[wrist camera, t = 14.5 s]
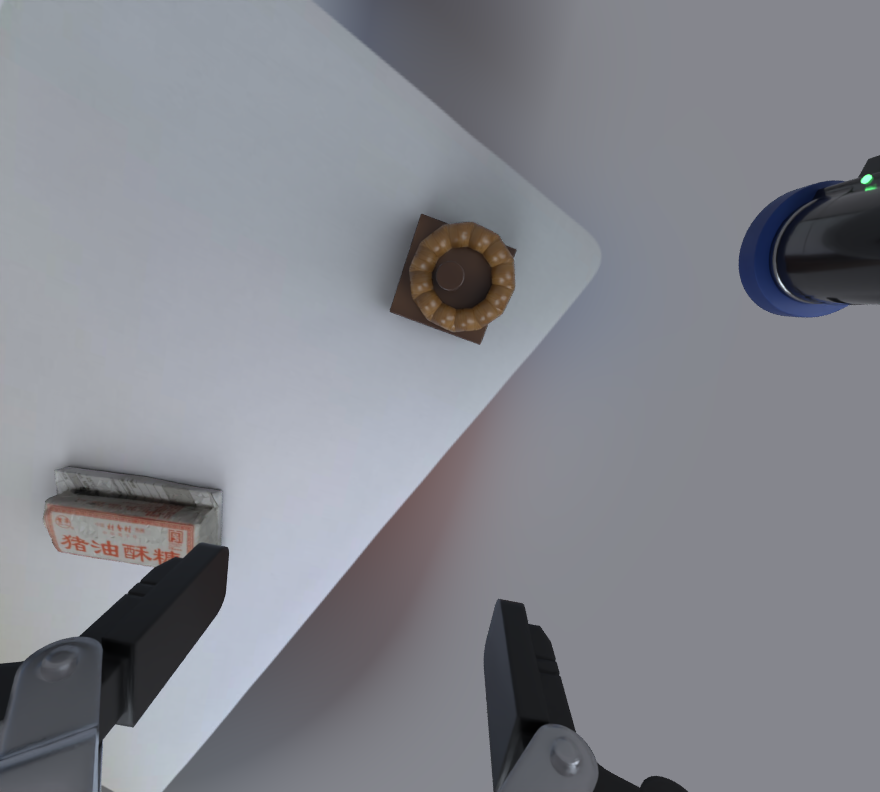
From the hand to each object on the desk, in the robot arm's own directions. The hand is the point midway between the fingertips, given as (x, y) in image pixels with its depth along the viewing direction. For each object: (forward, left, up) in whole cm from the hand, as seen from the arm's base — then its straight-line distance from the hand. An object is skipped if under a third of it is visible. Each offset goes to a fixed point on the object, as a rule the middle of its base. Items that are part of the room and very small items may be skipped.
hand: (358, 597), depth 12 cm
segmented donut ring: (-10, 0, -28) cm, 30 cm away
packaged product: (+26, -25, -32) cm, 48 cm away
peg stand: (-10, -1, -32) cm, 34 cm away
